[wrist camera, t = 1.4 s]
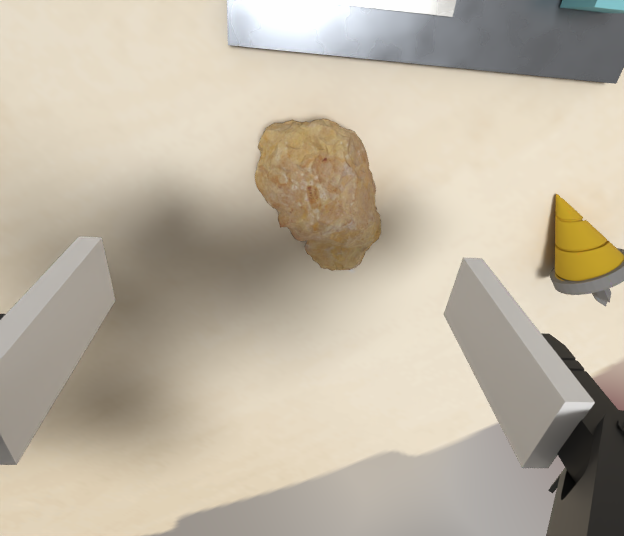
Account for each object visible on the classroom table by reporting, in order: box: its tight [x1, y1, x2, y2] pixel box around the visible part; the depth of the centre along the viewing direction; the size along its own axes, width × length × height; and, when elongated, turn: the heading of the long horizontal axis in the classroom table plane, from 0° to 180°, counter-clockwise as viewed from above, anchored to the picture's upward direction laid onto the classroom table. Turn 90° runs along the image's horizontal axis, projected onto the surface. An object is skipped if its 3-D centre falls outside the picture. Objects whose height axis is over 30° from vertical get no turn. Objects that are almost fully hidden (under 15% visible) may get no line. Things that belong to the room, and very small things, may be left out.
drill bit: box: [550, 194, 624, 306], centre depth 31 cm, size 5×5×10 cm
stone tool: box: [255, 119, 381, 270], centre depth 27 cm, size 9×7×10 cm
